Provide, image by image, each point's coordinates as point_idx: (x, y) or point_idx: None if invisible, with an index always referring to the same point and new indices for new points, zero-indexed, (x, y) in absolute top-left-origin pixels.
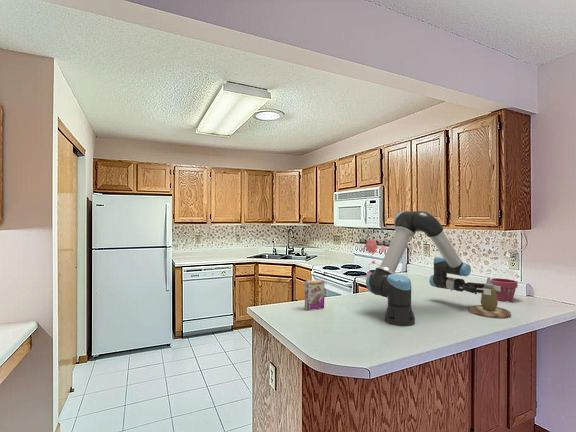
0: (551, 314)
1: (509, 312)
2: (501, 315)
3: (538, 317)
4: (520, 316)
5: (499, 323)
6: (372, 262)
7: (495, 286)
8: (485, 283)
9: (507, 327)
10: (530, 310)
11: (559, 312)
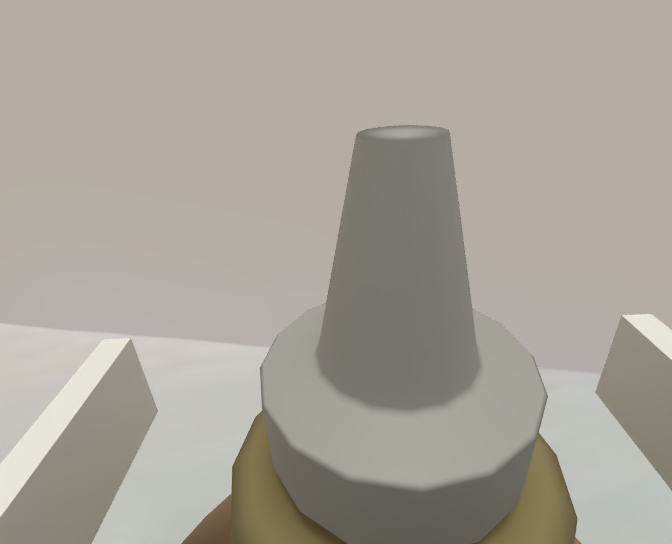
0: (93, 342)
1: None
2: None
3: (219, 358)
4: None
5: (634, 444)
6: None
7: (86, 413)
8: (375, 457)
9: None
10: (15, 433)
11: (18, 334)
